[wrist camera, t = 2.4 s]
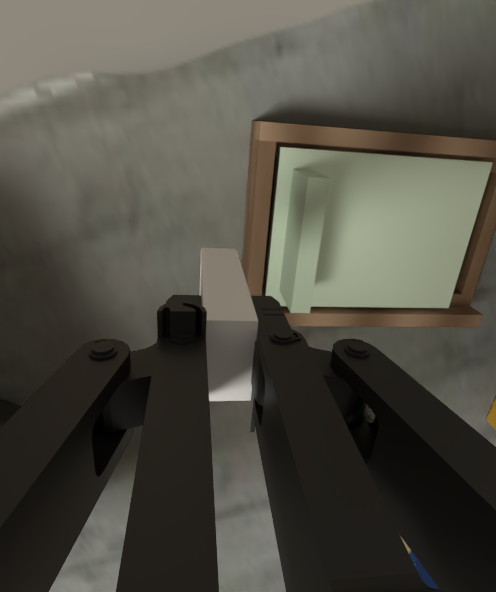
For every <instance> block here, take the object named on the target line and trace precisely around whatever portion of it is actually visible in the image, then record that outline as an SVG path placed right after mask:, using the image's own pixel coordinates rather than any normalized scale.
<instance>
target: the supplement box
mask: <svg viewBox="0 0 496 592" xmlns="http://www.w3.org/2000/svg"><path fill="white" fill-rule="evenodd" d="M486 420H487V421H488V422H489V423H490V424H491V425H492V426H493V427H494V429H495V430H496V397H495V400H494V402H493V404H492V407H491V409H490V411H489V414H488V416H487V418H486Z"/></svg>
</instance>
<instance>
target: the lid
mask: <svg viewBox="0 0 496 592" xmlns="http://www.w3.org/2000/svg"><path fill="white" fill-rule="evenodd" d="M492 164H493V162H486V161H476V160H462V159H449V158H435V157H421V156H408V155H394V154H380V153H367V152H353V151H339V150H326V149H312V148H298V147H285V146H277V155H276V165H275V175H274V186H273V196H272V206H271V216H270V227H269V237H268V247H267V257H266V268H265V278H264V288H263V296H272V297H273V298H274V299H276V300H277V301H278V302H279V303H280V305H281V306H287V307H288V309H289V311H290V312H291V313H310V309H311V307H391V308H449V305H450V302H451V299H452V295H453V292H454V289H455V286H456V282H457V279H458V276H459V272H460V269H461V266H462V263H463V259H464V256H465V253H466V249H467V246H468V243H469V240H470V236H471V233H472V230H473V226H474V223H475V220H476V216H477V213H478V210H479V207H480V203H481V200H482V197H483V193H484V190H485V187H486V184H487V180H488V177H489V174H490V170H491V167H492Z"/></svg>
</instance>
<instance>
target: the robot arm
mask: <svg viewBox="0 0 496 592" xmlns="http://www.w3.org/2000/svg"><path fill="white" fill-rule="evenodd" d="M157 323H158V339H157V343H156V344H154V345H153V346H151V347H148V348H146V349H142V350H138V351H132V352H130V349H129V347H128V345H127V344H125V343H124V342H122V341H118V340H114V339H101V340H100V339H99V340H95V341H92V342H89V343H87V344H84V345H83V346H82V347H80V348H79V349H78V350H77V351H76V352H75V353H74V354H73V355H72V356H71V357H70V358H69V359H68V360H67V361H66V362H65V363H64V364H63V365H62V366H61V367H60V368H59V369H58V370H57V371H56V372H55V373H54V374H53V375H52V376H51V377H50V378H49V379H48V380H47V381H46V382H45V383H44V384H43V385H42V386H41V387H40V388H39V389H38V390H37V391H36V392H35V393H34V394H33V395H32V396H31V397H30V398H29V399H28V401H27V402H26V403H25V404H24V405H23V406H22V407H18V406H16V405H13V404H10V403H7V402H4V401H0V592H49V590H50V588H51V586H52V584H53V583H54V581H55V579H56V577H57V575H58V573H59V571H60V570H61V568H62V566H63V564H64V562H65V560H66V558H67V556H68V555H69V553H70V551H71V549H72V547H73V545H74V543H75V542H76V540H77V538H78V536H79V534H80V532H81V530H82V528H83V527H84V525H85V523H86V521H87V519H88V517H89V515H90V514H91V512H92V510H93V508H94V506H95V504H96V502H97V501H98V499H99V497H100V495H101V493H102V491H103V489H104V487H105V486H106V484H107V482H108V480H109V478H110V476H111V474H112V473H113V471H114V469H115V467H116V465H117V463H118V461H119V459H120V458H121V456H122V454H123V452H124V450H125V448H126V446H127V445H128V443H129V441H130V439H131V437H132V435H133V431H134V427H136V426H140V425H143V431H142V437H141V443H140V449H139V455H138V461H137V467H136V473H135V479H134V485H133V491H132V497H131V503H130V510H129V516H128V522H127V528H126V534H125V540H124V546H123V552H122V558H121V564H120V570H119V576H118V582H117V589H116V592H219V585H218V566H217V546H216V527H215V507H214V488H213V468H212V449H211V429H210V409H209V401H251V392H252V390H253V394H254V401H253V411H252V421H251V431H250V432H254V430H255V427H256V433H257V438H258V443H259V449H260V454H261V459H262V465H263V470H264V475H265V481H266V486H267V491H268V497H269V502H270V507H271V513H272V518H273V523H274V529H275V534H276V539H277V545H278V550H279V555H280V561H281V566H282V571H283V577H284V582H285V587H286V592H496V447H495V446H494V445H493V444H491V443H490V442H489V441H488V440H487V439H485V438H484V437H483V436H482V435H481V434H479V433H478V432H477V431H476V430H475V429H473V428H472V427H471V426H470V425H469V424H467V423H466V422H465V421H464V420H462V419H461V418H460V417H459V416H458V415H456V414H455V413H454V412H453V411H452V410H450V409H449V408H448V407H447V406H446V405H444V404H443V403H442V402H441V401H440V400H438V399H437V398H436V397H435V396H434V395H432V394H431V393H430V392H429V391H427V390H426V389H425V388H424V387H423V386H421V385H420V384H419V383H418V382H417V381H415V380H414V379H413V378H412V377H411V376H409V375H408V374H407V373H406V372H405V371H403V370H402V369H401V368H400V367H399V366H397V365H396V364H395V363H394V362H392V361H391V360H390V359H389V358H388V357H386V356H385V355H384V354H383V353H382V352H380V351H379V350H378V349H377V348H375V347H374V346H372V345H371V344H369V343H366V342H363V341H362V340H358V339H357V340H356V339H343V340H339V341H337V342H336V343H335V344H333V350H332V352H330V351H325V350H319V349H315V348H311V347H309V346H308V344H307V342H306V340H305V338H304V337H303V336H302V335H301V334H300V333H298V332H297V331H295V330H292V329H291V327H290V325H289V323H288V321H287V318H286V316H285V314H284V312H283V310H282V307H281V305H280V303H279V302H278V301H277V300H276V299H274V298H273V297H272V296H251V295H250V292H249V289H248V285H247V282H246V279H245V276H244V272H243V269H242V266H241V262H240V259H239V256H238V253H237V249H223V248H201V263H200V295H173V296H172V297H171V298H169V299H168V300H167V301H166V304H164V305H162V306H161V307H160V308H159V309H158V311H157ZM369 407H370V408H371V409H372V411H373V412H374V413H375V419H374V420H372V419H371V418H370V417H369V416H368V414H367V413H368V409H369ZM401 537H402V539H403V540H404V541H405V543H406V544H407V545H408V547H409V548H410V550H411V551H412V552H413V554H414V555H415V556H416V558H417V559H418V560H419V562H420V563H421V564H422V566H423V567H424V569H425V570H426V571H427V573H428V574H429V575H430V577H431V578H432V579H433V581H434V582H435V584H436V585H437V586H438V588H439V589H435V588H429V587H428V586H427V585H426V584H425V583H424V582H423V580H422V579H421V577H420V575H419V574H418V572H417V570H416V568H415V565H414V563H413V561H412V559H411V557H410V555H409V553H408V551H407V549H406V547H405V545H404V543H403V541H402V539H401Z"/></svg>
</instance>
